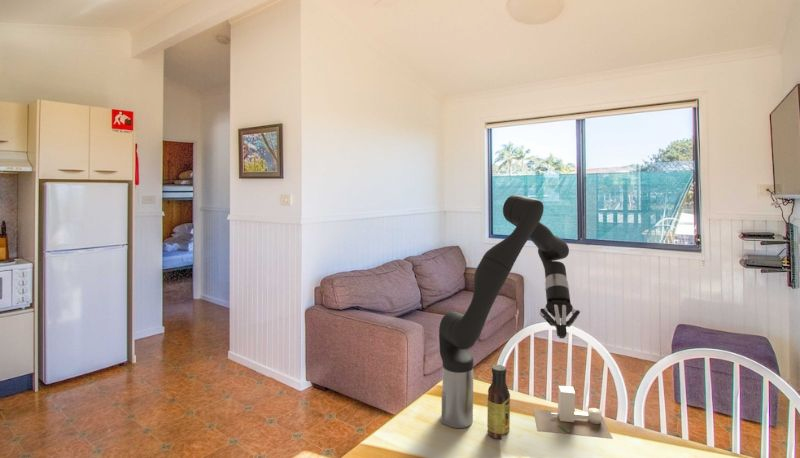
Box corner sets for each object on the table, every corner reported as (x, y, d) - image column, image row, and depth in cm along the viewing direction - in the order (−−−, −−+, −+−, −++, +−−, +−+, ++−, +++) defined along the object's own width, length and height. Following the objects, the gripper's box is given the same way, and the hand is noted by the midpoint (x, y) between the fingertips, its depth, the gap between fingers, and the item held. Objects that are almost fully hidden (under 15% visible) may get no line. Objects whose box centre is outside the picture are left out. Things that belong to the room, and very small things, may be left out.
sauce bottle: (509, 441, 121) (511, 374, 119) (487, 439, 123) (488, 372, 120) (508, 428, 128) (510, 364, 125) (487, 426, 129) (488, 362, 127)
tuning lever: (599, 417, 130) (600, 389, 129) (602, 424, 126) (604, 395, 125) (550, 412, 133) (551, 385, 131) (552, 420, 129) (553, 391, 128)
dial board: (537, 435, 124) (537, 430, 124) (533, 413, 136) (533, 408, 135) (612, 443, 120) (612, 437, 120) (601, 419, 132) (601, 414, 132)
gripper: (538, 283, 147) (541, 331, 136) (579, 285, 144) (586, 333, 134) (536, 294, 153) (539, 341, 142) (575, 296, 150) (582, 343, 140)
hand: (562, 337), depth 138 cm, fingers closed
